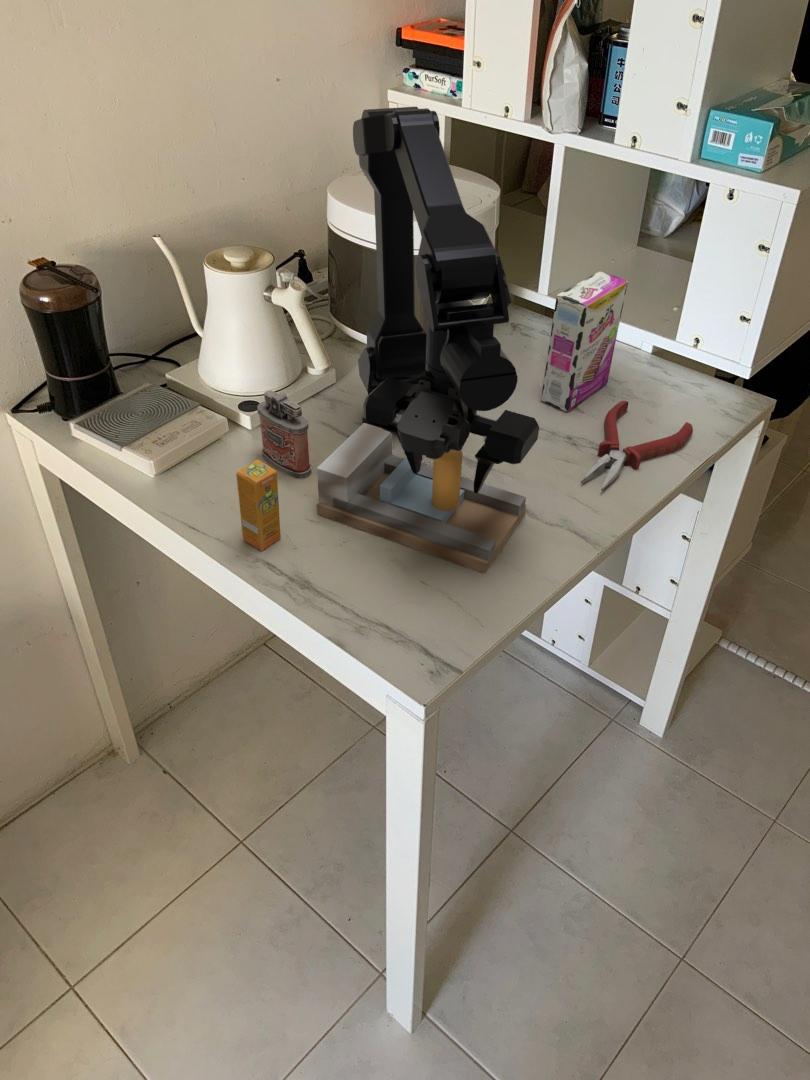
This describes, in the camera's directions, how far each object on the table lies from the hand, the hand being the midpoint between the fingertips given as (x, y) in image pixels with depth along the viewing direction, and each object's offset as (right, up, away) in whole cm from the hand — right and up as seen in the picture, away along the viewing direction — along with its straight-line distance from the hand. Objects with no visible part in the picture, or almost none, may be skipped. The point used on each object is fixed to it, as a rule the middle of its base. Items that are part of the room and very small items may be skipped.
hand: (446, 481), depth 101 cm
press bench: (-3, -4, +5) cm, 7 cm away
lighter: (-20, +3, +13) cm, 24 cm away
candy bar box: (+20, +15, +27) cm, 37 cm away
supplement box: (-21, -7, +1) cm, 22 cm away
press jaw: (-2, -3, +4) cm, 5 cm away
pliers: (+24, +5, +17) cm, 30 cm away
